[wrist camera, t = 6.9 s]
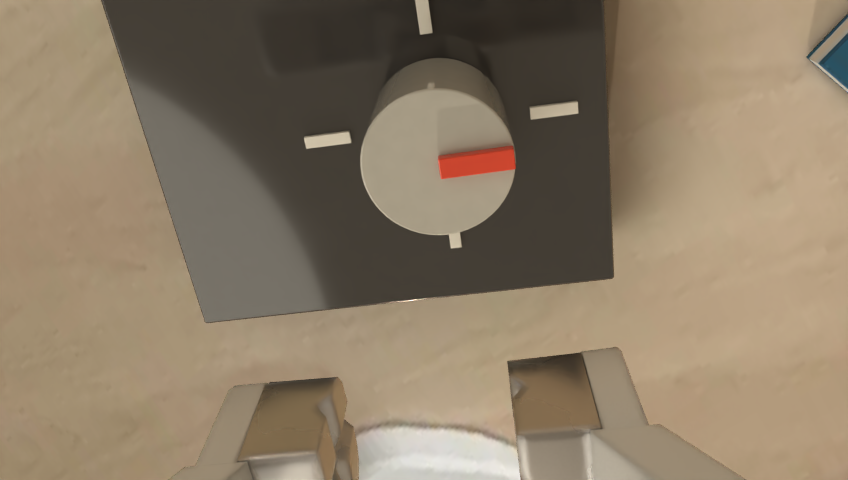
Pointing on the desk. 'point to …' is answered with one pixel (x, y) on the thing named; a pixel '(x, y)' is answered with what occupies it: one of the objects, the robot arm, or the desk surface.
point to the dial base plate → (342, 140)
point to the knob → (438, 148)
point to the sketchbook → (834, 54)
